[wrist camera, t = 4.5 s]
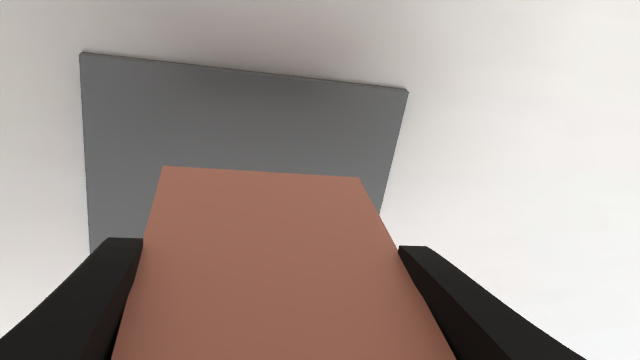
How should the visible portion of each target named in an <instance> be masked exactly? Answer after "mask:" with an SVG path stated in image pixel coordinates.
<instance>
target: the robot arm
mask: <svg viewBox="0 0 640 360" xmlns="http://www.w3.org/2000/svg"><path fill="white" fill-rule="evenodd" d="M142 249H143V238H117V237H108V238H107V239H105V240H104V241H103V242H102V243H101V244H100V245H99V246H98V247H97V248H96V249H95V250H94V251H93V252H92V253H91V254H90V255H89V256H88V257H87V258H86V259H85V260H84V262H83V263H82V264H81V265H80V266H79V267H78V268H77V269H76V270H75V271H74V272H73V273H72V274H71V275H70V276H69V277H68V278H67V279H66V280H65V281H64V282H63V283H62V284H61V285H60V286H58V287H57V288H56V289H55V290H54V291H53V292H52V293H51V294H50V295H49V296H48V297H47V298H46V299H45V300H44V301H43V302H42V303H41V304H39V305H38V306H37V307H36V308H35V309H34V310H33V311H32V312H31V313H30V314H29V315H28V316H26V317H25V318H24V319H23V320H22V321H21V322H19V323H18V324H17V325H16V326H15V327H14V328H12V329H11V330H10V331H9V332H8V333H7V334H5V335H4V336H3V337H2V338H1V339H0V360H111V358H112V354H113V350H114V346H115V343H116V339H117V335H118V331H119V328H120V324H121V320H122V316H123V313H124V309H125V305H126V301H127V298H128V295H129V293H130V290H131V288H132V285H133V283H134V280H135V276H136V272H137V269H138V265H139V261H140V257H141V253H142ZM398 255H399V257H400V259H401V260H402V262H403V264H404V266H405V268H406V270H407V272H408V274H409V275H410V277H411V279H412V281H413V283H414V285H415V286H416V288H417V289H418V291H419V292H420V294H421V295H422V297H423V298H424V300H425V302H426V304H427V306H428V308H429V309H430V311H431V313H432V315H433V317H434V319H435V321H436V322H437V324H438V326H439V328H440V330H441V332H442V334H443V336H444V337H445V339H446V341H447V343H448V345H449V347H450V349H451V350H452V352H453V354H454V356H455V358H456V360H586V359H585V358H583V357H581V356H580V355H578V354H577V353H575V352H574V351H572V350H570V349H569V348H567V347H566V346H564V345H563V344H561V343H560V342H558V341H557V340H555V339H554V338H552V337H551V336H549V335H548V334H546V333H545V332H543V331H542V330H541V329H539V328H538V327H536V326H535V325H533V324H532V323H530V322H529V321H528V320H526V319H525V318H523V317H522V316H521V315H519V314H518V313H516V312H515V311H514V310H512V309H511V308H509V307H508V306H507V305H505V304H504V303H503V302H501V301H500V300H499V299H497V298H496V297H495V296H493V295H492V294H491V293H489V292H488V291H487V290H485V289H484V288H483V287H481V286H480V285H479V284H478V283H476V282H475V281H474V280H472V279H471V278H470V277H468V276H467V275H466V274H464V273H463V272H462V271H461V270H459V269H458V268H457V267H455V266H454V265H453V264H451V263H450V262H449V261H447V260H446V259H445V258H443V257H442V256H440V255H439V254H438V253H436V252H435V251H433V250H432V249H430V248H428V247H427V246H399V249H398Z"/></svg>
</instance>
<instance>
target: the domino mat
mask: <svg viewBox="0 0 640 360" xmlns="http://www.w3.org/2000/svg"><path fill="white" fill-rule="evenodd" d="M79 62H80V81H81V99H82V117H83V135H84V153H85V172H86V190H87V208H88V226H89V244H90V254H91V253H92V252H93V251H94V250H95V249H96V248H97V247H98V246H99V245H100V244H101V243H102V242H103V241H104V240H105V239H107V238H108V237H117V238H144V234H145V230H146V226H147V223H148V219H149V215H150V211H151V208H152V204H153V200H154V196H155V193H156V189H157V185H158V181H159V178H160V174H161V170H162V167H163V166H177V167H193V168H210V169H227V170H243V171H260V172H277V173H293V174H310V175H327V176H343V177H359V179H360V181H361V183H362V185H363V186H364V188H365V190H366V192H367V194H368V196H369V198H370V199H371V201H372V203H373V205H374V207H375V209H376V211H377V213H378V214H379V213H380V209H381V205H382V201H383V197H384V193H385V188H386V184H387V180H388V176H389V172H390V168H391V164H392V160H393V156H394V151H395V147H396V143H397V139H398V135H399V131H400V127H401V123H402V118H403V114H404V110H405V106H406V102H407V98H408V94H409V92H408V91H407V90H406V89H399V88H391V87H382V86H373V85H364V84H356V83H347V82H338V81H329V80H321V79H312V78H303V77H294V76H286V75H277V74H268V73H259V72H251V71H242V70H233V69H224V68H216V67H207V66H198V65H189V64H181V63H172V62H163V61H154V60H146V59H137V58H128V57H119V56H111V55H102V54H93V53H84V52H82V53H81V54H79Z"/></svg>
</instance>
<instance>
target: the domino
mask: <svg viewBox="0 0 640 360" xmlns="http://www.w3.org/2000/svg"><path fill="white" fill-rule="evenodd" d="M111 360H456V358H455V356H454V354H453V352H452V350H451V349H450V347H449V345H448V343H447V341H446V339H445V337H444V336H443V334H442V332H441V330H440V328H439V326H438V324H437V322H436V321H435V319H434V317H433V315H432V313H431V311H430V309H429V308H428V306H427V304H426V302H425V300H424V298H423V297H422V295H421V294H420V292H419V291H418V289H417V288H416V286H415V285H414V283H413V281H412V279H411V277H410V275H409V274H408V272H407V270H406V268H405V266H404V264H403V262H402V260H401V259H400V257H399V255H398V250H397V248H396V246H395V244H394V242H393V240H392V239H391V237H390V235H389V233H388V231H387V229H386V227H385V226H384V224H383V222H382V220H381V218H380V216H379V214H378V213H377V211H376V209H375V207H374V205H373V203H372V201H371V199H370V198H369V196H368V194H367V192H366V190H365V188H364V186H363V185H362V183H361V181H360V179H359V177H343V176H327V175H310V174H293V173H277V172H260V171H243V170H227V169H210V168H193V167H177V166H163V167H162V170H161V174H160V178H159V181H158V185H157V189H156V193H155V196H154V200H153V204H152V208H151V211H150V215H149V219H148V223H147V226H146V230H145V234H144V238H143V249H142V253H141V257H140V261H139V265H138V269H137V272H136V276H135V280H134V283H133V285H132V288H131V290H130V293H129V295H128V298H127V301H126V305H125V309H124V313H123V316H122V320H121V324H120V328H119V331H118V335H117V339H116V343H115V346H114V350H113V354H112V358H111Z"/></svg>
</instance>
